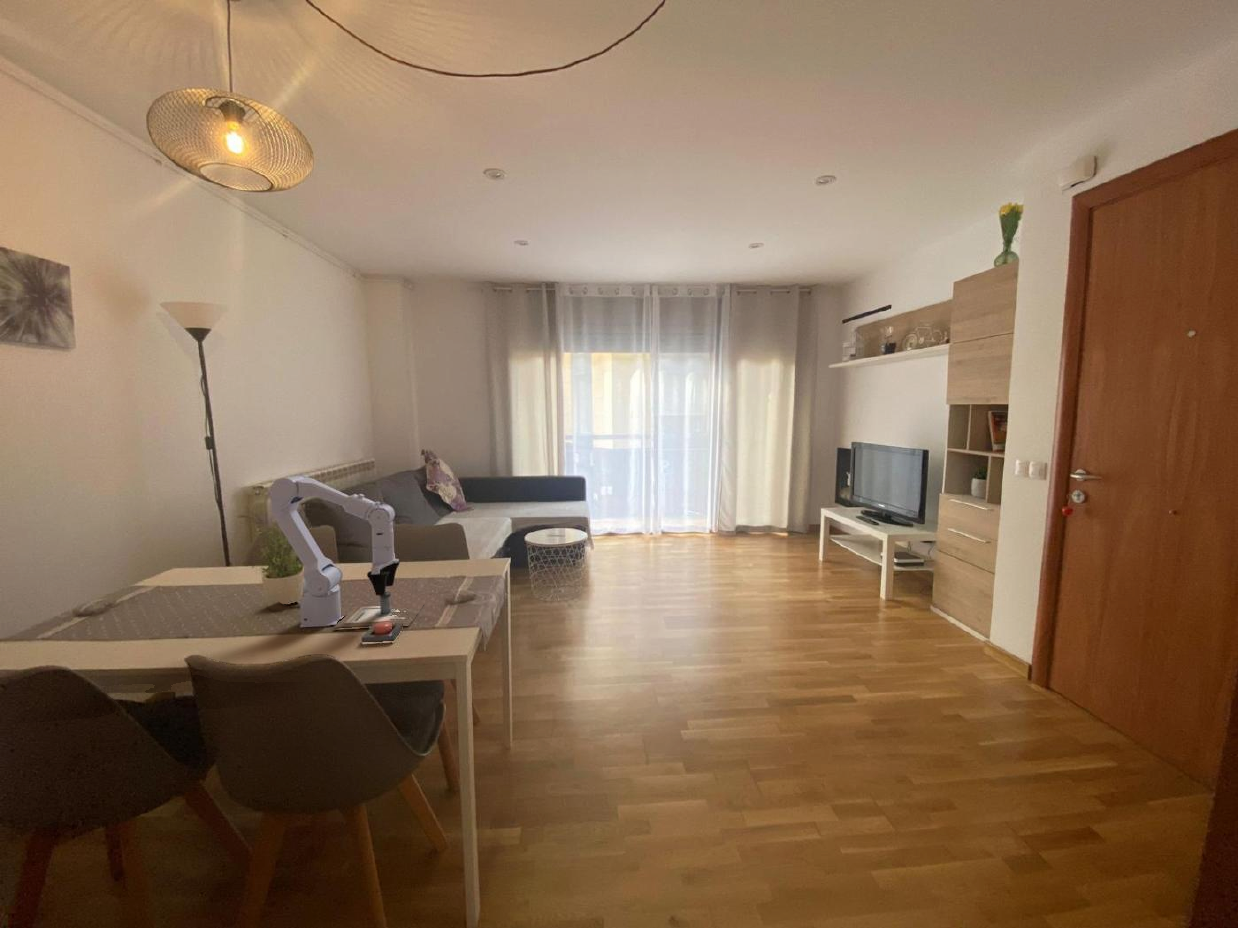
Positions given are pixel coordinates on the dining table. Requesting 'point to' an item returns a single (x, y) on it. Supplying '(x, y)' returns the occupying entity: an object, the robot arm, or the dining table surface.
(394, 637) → the button housing
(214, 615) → the dining table surface
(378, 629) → the button
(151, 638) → the dining table surface
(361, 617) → the drawing board
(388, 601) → the gray capped cylinder
